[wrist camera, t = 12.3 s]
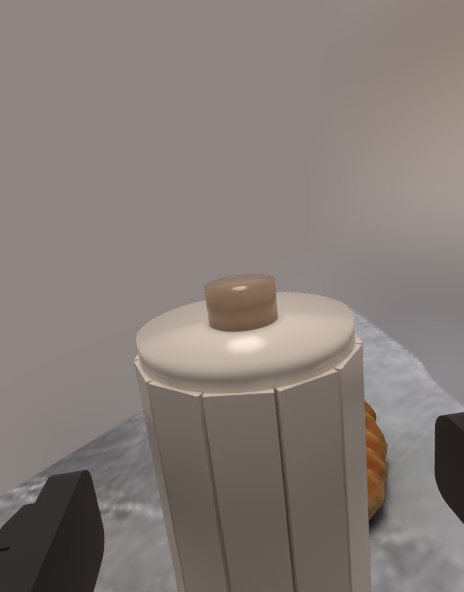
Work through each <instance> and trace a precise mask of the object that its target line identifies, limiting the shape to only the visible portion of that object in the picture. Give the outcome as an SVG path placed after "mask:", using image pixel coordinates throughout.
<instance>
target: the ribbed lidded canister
mask: <svg viewBox="0 0 464 592" xmlns="http://www.w3.org/2000/svg"><path fill="white" fill-rule="evenodd" d="M204 291H205V298H206V300H204V301H200V302H196V303H192V304H188V305H185V306H182V307H179V308H176V309H174V310H171V311H168V312H166V313H164V314H162V315H160V316H158V317H156V318H154V319H153V320H151V321H150V322H148V323H147V324H146V325H144V326H143V327H142V328H141V329H140V331H139V332H138V334H137V337H136V343H137V349H138V356H137V357H136V358H135V359H134V365H135V370H136V375H137V380H138V385H139V391H140V396H141V400H142V406H143V411H144V417H145V422H146V427H147V432H148V437H149V443H150V448H151V453H152V458H153V463H154V469H155V474H156V479H157V484H158V489H159V495H160V500H161V505H162V510H163V515H164V521H165V526H166V531H167V536H168V541H169V547H170V552H171V557H172V562H173V567H174V573H175V578H176V583H177V588H178V592H371V576H370V548H369V519H368V491H367V462H366V434H365V406H364V377H363V349H362V342H361V340H360V339H359V337H358V335H357V334H356V332H355V328H354V314H353V312H352V310H351V309H350V308H349V307H348V306H346V305H345V304H343V303H341V302H339V301H337V300H334V299H331V298H328V297H323V296H319V295H313V294H305V293H293V292H276V288H275V278H274V277H272V276H269V275H261V274H250V275H237V276H230V277H225V278H220V279H217V280H214V281H211V282H208V283H207V284H205V286H204Z"/></svg>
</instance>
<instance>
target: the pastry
mask: <svg viewBox="0 0 464 592" xmlns="http://www.w3.org/2000/svg"><path fill="white" fill-rule="evenodd" d="M364 406H365V434H366V462H367V491H368V519H369V520H370V519H371V518H372V517H373V515H374V514H375V512H376V511H377V510H378V509H379V508H380V507H381V506H382V505H383V503H384V501H385V486H384V484H385V481H386V479H387V476H388V469H387V465H386V462H385V458H386V454H387V443H386V441H385V438H384V436H383V434H382V432H381V430H380V429H379V427H378V426H377V424H376V423H375V420H376V413H375V412H374V410H373V409H372V408H371V406H370V405H369V404H368V403H367V402H365V400H364Z"/></svg>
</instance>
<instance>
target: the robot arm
mask: <svg viewBox="0 0 464 592" xmlns="http://www.w3.org/2000/svg"><path fill="white" fill-rule="evenodd" d="M435 479H436V483H437V486H438V489H439V491H440V493H441V495H442V497H443V499H444V500H445V502H446V503H447V504H448V506H449V507H450V508H451V509H452V510H453V512H454V513H455V514H456V515H457V516H458V518H459V519H460V520H461V521H462V522H463V524H464V412H461V413H455V414H448V415H442V416H439V417H438V418H437V420H436V423H435ZM103 552H104V528H103V523H102V519H101V515H100V511H99V506H98V502H97V498H96V494H95V490H94V486H93V481H92V478H91V475H90V473H89V471H87V470H83V471H76V472H70V473H64V474H57V475H52V476H50V477H49V478H48V480H47V481H46V483H45V485H44V487H43V489H42V491H41V492H40V494H39V496H38V498H37V500H36V502H35V503H34V504H27V505H24V506H23V507H22V508H21V509H20V510H19V511H18V512H17V513H16V514H15V515H14V516H13V517H12V518H11V519H10V520H8V521H7V522H6V523H5V524H4V525H3V526H2V528H1V529H0V592H94V588H95V585H96V581H97V577H98V573H99V570H100V566H101V562H102V558H103Z"/></svg>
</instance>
